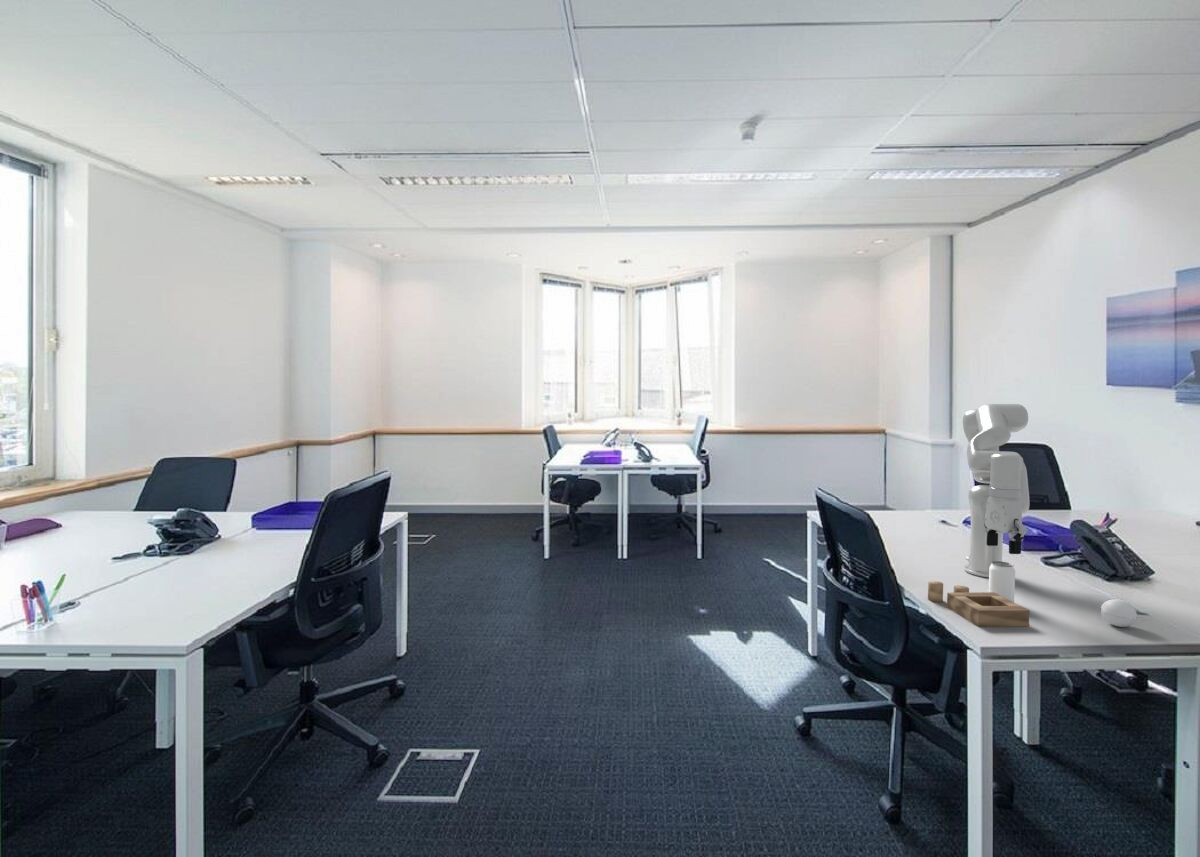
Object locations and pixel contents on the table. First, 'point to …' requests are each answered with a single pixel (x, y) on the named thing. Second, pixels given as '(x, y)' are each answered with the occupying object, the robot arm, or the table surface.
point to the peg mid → (935, 591)
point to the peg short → (961, 589)
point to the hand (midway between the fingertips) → (1003, 549)
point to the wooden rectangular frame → (988, 609)
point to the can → (1002, 579)
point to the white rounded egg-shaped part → (1118, 612)
